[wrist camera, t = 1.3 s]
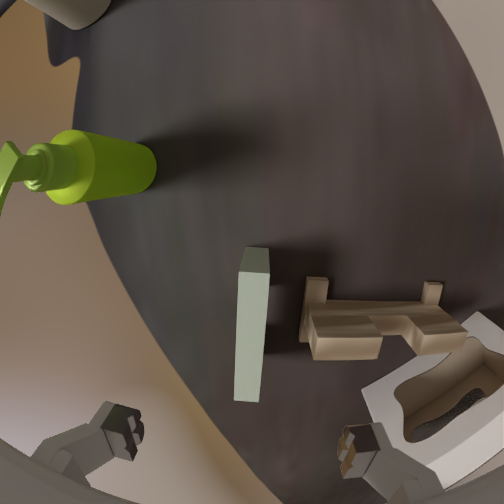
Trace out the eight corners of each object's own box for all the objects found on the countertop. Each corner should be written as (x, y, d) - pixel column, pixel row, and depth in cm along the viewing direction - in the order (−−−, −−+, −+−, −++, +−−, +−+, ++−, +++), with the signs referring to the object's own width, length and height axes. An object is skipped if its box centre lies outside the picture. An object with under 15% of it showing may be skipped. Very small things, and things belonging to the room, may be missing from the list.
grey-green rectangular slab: (245, 246, 32) (238, 271, 24) (268, 248, 32) (270, 273, 24) (240, 353, 36) (234, 400, 27) (260, 355, 36) (258, 401, 27)
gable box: (478, 308, 33) (596, 411, 6) (485, 361, 36) (568, 458, 8) (358, 389, 37) (416, 557, 10) (382, 430, 39) (428, 560, 12)
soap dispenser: (99, 180, 31) (-33, 194, 12) (132, 134, 30) (4, 103, 10) (131, 210, 32) (3, 252, 12) (166, 164, 30) (45, 152, 11)
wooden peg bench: (306, 276, 33) (320, 309, 24) (438, 282, 32) (476, 308, 24) (298, 337, 35) (307, 382, 26) (423, 335, 34) (454, 370, 26)
